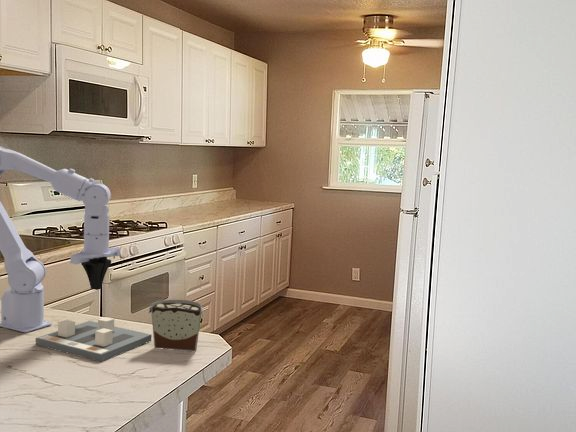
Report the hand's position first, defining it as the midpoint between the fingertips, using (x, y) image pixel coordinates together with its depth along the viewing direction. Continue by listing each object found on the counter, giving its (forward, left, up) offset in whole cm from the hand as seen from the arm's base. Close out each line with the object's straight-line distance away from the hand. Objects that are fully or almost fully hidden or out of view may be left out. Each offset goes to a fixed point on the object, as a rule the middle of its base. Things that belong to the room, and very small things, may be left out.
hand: (95, 288), depth 144 cm
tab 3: (+14, -12, -8) cm, 20 cm away
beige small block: (+3, -12, -8) cm, 15 cm away
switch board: (+9, -9, -9) cm, 16 cm away
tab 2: (+9, -5, -8) cm, 13 cm away
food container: (+25, 0, -10) cm, 27 cm away
